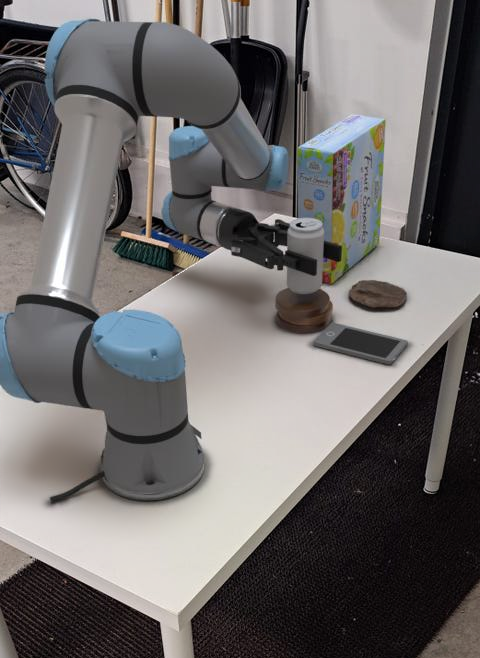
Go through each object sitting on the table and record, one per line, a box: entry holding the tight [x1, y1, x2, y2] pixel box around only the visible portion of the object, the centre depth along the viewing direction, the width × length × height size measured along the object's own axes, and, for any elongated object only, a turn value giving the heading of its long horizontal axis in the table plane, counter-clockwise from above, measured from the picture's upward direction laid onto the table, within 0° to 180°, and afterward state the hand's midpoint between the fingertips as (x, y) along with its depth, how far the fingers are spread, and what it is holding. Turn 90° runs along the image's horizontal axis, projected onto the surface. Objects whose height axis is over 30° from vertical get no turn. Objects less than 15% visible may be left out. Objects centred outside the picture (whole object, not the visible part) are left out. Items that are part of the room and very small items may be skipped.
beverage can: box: [286, 217, 324, 294], centre depth 151 cm, size 6×6×12 cm
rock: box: [348, 279, 408, 308], centre depth 165 cm, size 11×12×3 cm
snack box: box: [296, 113, 387, 285], centre depth 170 cm, size 22×9×26 cm, turn 147°
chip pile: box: [274, 287, 334, 334], centre depth 158 cm, size 10×10×4 cm
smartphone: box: [312, 322, 408, 365], centre depth 152 cm, size 15×8×1 cm, turn 60°
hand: (327, 260), depth 148 cm, fingers closed on beverage can, 6 cm apart
